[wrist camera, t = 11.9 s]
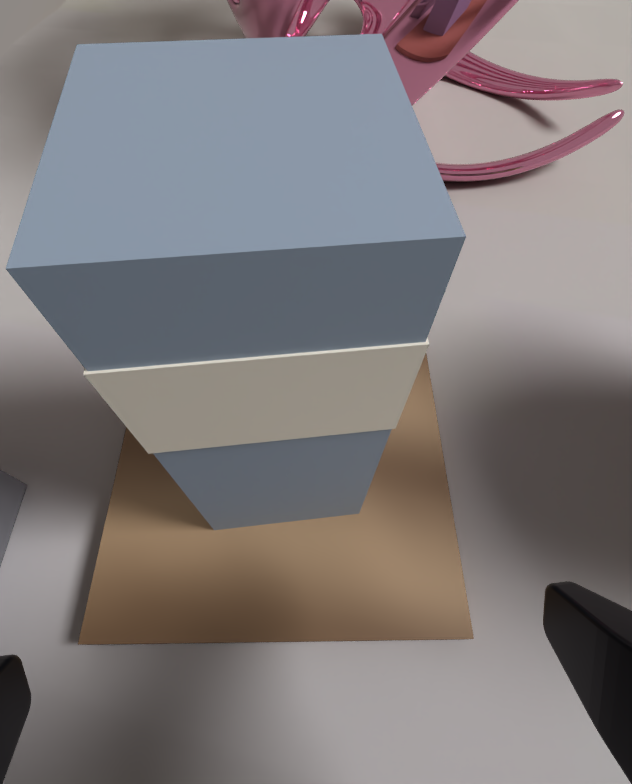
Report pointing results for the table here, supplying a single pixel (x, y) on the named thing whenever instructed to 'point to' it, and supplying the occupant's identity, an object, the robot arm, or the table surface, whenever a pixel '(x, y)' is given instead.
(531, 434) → the table surface
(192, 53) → the carton
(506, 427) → the table surface
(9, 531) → the tray
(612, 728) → the robot arm
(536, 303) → the table surface
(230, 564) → the pad
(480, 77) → the spiral basket
